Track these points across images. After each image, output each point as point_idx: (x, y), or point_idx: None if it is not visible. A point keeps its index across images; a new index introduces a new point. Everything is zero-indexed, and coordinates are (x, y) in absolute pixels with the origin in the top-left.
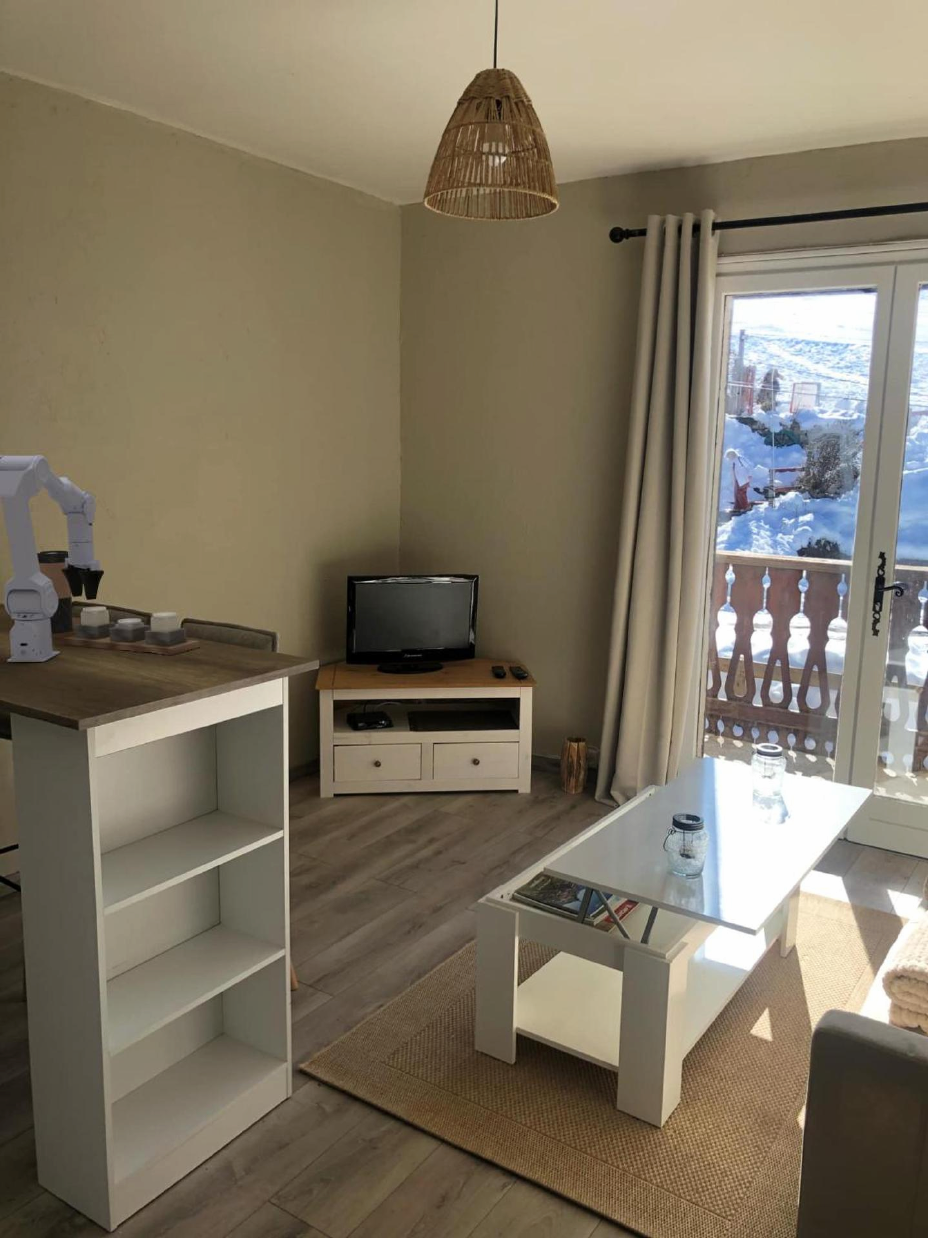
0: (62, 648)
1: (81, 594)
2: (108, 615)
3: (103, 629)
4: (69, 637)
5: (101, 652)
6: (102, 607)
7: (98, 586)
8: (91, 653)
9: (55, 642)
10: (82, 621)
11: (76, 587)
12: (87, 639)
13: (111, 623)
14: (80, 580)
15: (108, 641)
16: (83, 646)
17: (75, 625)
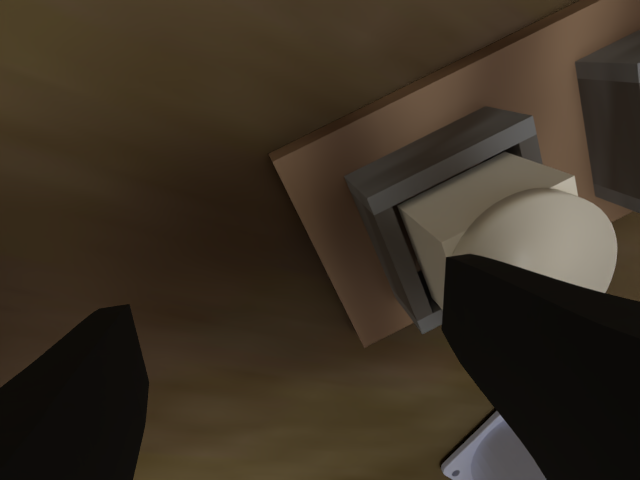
0: (435, 348)
1: (127, 316)
2: (550, 169)
3: None
4: (370, 320)
5: (623, 251)
6: (564, 222)
7: (595, 291)
8: (608, 286)
9: (277, 344)
10: None
11: (117, 428)
12: None
13: (536, 148)
14: (57, 455)
15: (600, 207)
16: None
17: (425, 331)
